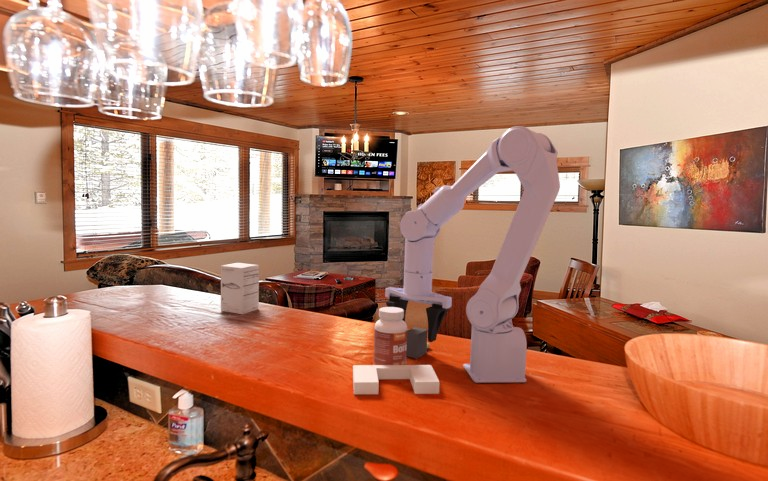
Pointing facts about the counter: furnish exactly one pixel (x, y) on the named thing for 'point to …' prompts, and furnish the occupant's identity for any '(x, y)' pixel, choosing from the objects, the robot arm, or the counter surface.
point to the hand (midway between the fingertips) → (415, 336)
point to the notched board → (394, 377)
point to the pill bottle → (390, 337)
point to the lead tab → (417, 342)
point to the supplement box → (239, 288)
